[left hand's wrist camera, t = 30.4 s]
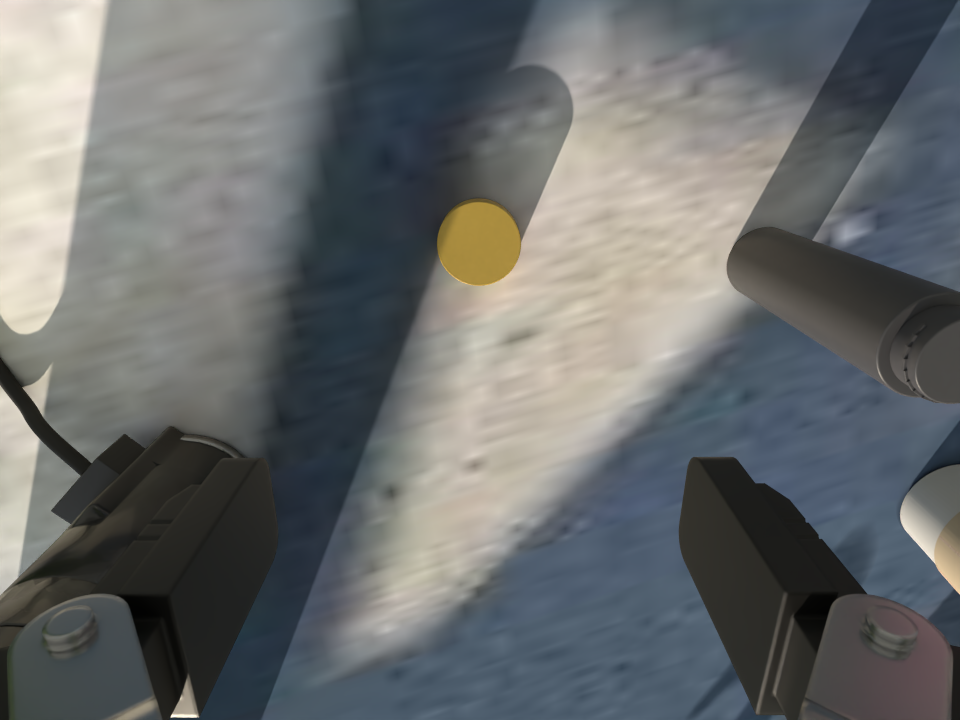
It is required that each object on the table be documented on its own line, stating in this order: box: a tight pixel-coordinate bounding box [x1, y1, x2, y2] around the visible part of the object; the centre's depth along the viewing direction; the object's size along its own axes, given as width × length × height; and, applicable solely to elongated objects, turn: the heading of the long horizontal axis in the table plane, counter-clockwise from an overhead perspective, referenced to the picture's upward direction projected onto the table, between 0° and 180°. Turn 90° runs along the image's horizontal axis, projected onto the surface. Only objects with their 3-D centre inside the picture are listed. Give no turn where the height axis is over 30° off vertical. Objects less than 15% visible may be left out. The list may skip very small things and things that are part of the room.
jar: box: [727, 227, 960, 404], centre depth 30 cm, size 4×4×17 cm
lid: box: [437, 198, 521, 286], centre depth 37 cm, size 5×5×2 cm
